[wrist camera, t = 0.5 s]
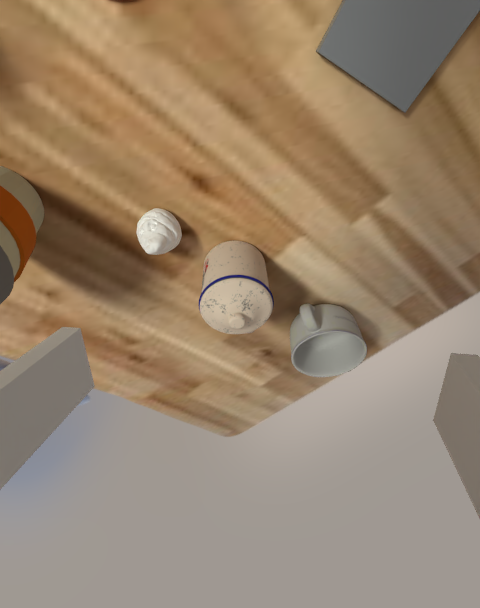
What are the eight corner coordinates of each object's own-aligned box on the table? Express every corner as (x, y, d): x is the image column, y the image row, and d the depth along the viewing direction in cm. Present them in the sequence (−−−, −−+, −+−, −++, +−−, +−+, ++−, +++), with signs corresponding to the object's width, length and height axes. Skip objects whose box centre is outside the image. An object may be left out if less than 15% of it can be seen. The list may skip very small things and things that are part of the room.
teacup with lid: (192, 248, 45) (184, 305, 37) (257, 229, 44) (266, 283, 35) (221, 311, 53) (220, 370, 44) (277, 296, 52) (288, 355, 43)
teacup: (354, 333, 58) (370, 370, 51) (292, 348, 59) (300, 386, 53) (344, 269, 49) (361, 306, 43) (272, 290, 51) (278, 327, 45)
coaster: (315, 51, 32) (318, 52, 31) (400, -110, 26) (405, -113, 25) (401, 110, 36) (405, 112, 35) (493, -18, 29) (500, -19, 29)
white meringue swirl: (156, 221, 36) (187, 257, 39) (163, 198, 41) (191, 232, 44) (119, 246, 38) (151, 278, 41) (130, 221, 43) (158, 252, 46)
